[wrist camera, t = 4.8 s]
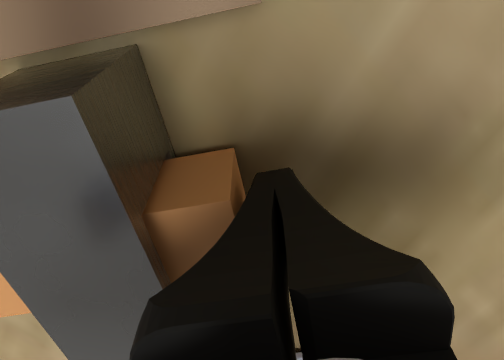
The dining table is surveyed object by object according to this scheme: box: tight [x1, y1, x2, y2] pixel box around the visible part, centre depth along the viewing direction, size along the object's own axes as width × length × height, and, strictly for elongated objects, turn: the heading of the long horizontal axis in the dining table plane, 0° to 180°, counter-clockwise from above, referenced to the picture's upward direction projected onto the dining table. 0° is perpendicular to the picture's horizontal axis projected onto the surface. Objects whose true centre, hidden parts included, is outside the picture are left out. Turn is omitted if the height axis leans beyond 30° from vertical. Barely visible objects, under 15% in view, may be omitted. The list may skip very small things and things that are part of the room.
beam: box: [0, 45, 176, 360], centre depth 12 cm, size 11×4×5 cm, turn 11°
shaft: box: [0, 148, 246, 317], centre depth 13 cm, size 16×3×3 cm, turn 101°
